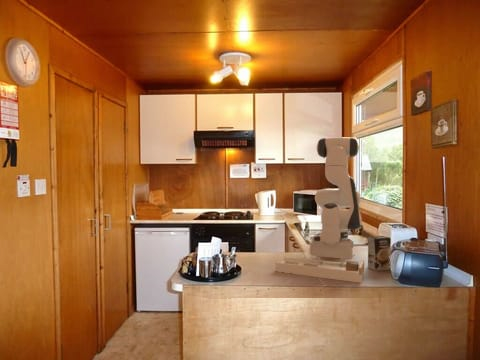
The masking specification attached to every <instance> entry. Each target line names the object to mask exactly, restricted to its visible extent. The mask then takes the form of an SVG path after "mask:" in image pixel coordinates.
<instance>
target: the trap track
mask: <svg viewBox="0 0 480 360" xmlns="http://www.w3.org/2000/svg"><path fill="white" fill-rule="evenodd" d="M322 261H323V265H319V261H318V259H310V258H304V257H303V258H302V257H292V256H283V259H282V260H281V261H280V262H275V272H276V271H278V272H277V273H282V272H284V273H283V274H290V273H292V274H291V275H299V276H306V277H313V278H322V279H329V280H339V281H345V282H350V283H351V282H352V283H362V281H363V278H364V276H365V261H364V260H361V262H360V264H359V263H358V272H356V271H347V270H346V262H344V263H343V268H341V267H339V263H341V261H339V262H338V261H329V260H322Z"/></svg>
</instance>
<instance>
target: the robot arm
mask: <svg viewBox="0 0 480 360" xmlns="http://www.w3.org/2000/svg"><path fill="white" fill-rule="evenodd" d="M359 151H360V144H359V140H358V139H357V138H356V137H344V136H342V137H341V136H338V137H328V138H326V137H323V138H320V139H319V140H318V142H317V144H316V152H317V155H318V156H319V157H321V158H323V159H325V162H324V163H325V166H324V175H325V179H326V180H327V181H328V182H329V183H331V184H332V185H334V186H337V187H338V188H321V189H318V190H317V191H316V193H315V195H314V200H315V203H316V205H317V206H318V207H320V208H321V217H320V218H321V219H320V220H321V221H320V223H321V231H320V232H321V233H320V232H319V233H316V234H313V236H311V240H312V241H311V242H310V245H309V255H310V256H315V257H316V260H318V261H319V265H323V261H324V260H321V257H324V258H335V259H341V261H342V262H340V263H339V267H341V268H343V263H345V261H346V260H352V259H353V258H354V256H355V253H354V246H355V245H354V244H355V243H354V241H353V240H352V239H351V238H349V231H348V230H350V231H356V230H358V229H359V228H360V227H361V226H362V221H363V219H362V213H361V210H360V205H359V204H360V202H361V199H362V197H361V194H360V192H359V190H357V188H356V182H355V180H354V178H353V177H352V176H350V174H349V158H350V159H351V158H353V157H356V156H357V155H358V153H359ZM343 208H347V209H343Z"/></svg>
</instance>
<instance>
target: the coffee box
mask: <svg viewBox="0 0 480 360" xmlns="http://www.w3.org/2000/svg"><path fill="white" fill-rule="evenodd" d="M367 240H368V241H367V268H368V269H370V270H373V271H375V272H377V271H386V270H389V271H390V269H389V256H390V251H391V249H392V248H391V247H392V246H391V244H392V243H391V241H392V239H391V237H389V236H385V235H374V236H368V237H367ZM391 252H392V251H391Z"/></svg>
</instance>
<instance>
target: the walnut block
mask: <svg viewBox="0 0 480 360" xmlns="http://www.w3.org/2000/svg"><path fill="white" fill-rule="evenodd" d="M345 263H346V270H347V271H356V272H358V264H359V261H355V260H346V262H345Z"/></svg>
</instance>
